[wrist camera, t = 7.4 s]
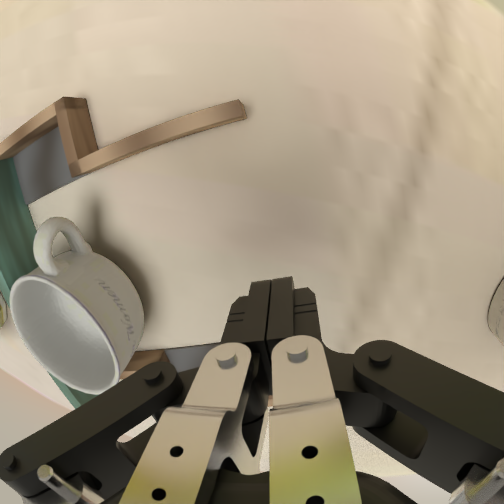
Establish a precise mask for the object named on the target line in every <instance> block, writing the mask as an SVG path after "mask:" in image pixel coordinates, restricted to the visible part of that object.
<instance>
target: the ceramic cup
mask: <svg viewBox="0 0 504 504" xmlns="http://www.w3.org/2000/svg"><path fill="white" fill-rule="evenodd" d="M6 318H7V312H6V303H5V301H4V299H3V297H2V295H1V293H0V328H1V327H2V325H3V324H4V322H5V321H6Z"/></svg>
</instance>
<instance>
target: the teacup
mask: <svg viewBox="0 0 504 504" xmlns="http://www.w3.org/2000/svg"><path fill="white" fill-rule="evenodd" d="M59 231H61V232H62V233H63V234H64V236H65V237H66V239H67V240H68V242H69V245H70V247H71V250H72V251H67V252H64V253H61V254H59V255H57V256H55V257H53V256H52V244H53V240H54V238H55V236H56V235H57V233H58V232H59ZM33 252H34V257H35V260H36V262H37V264H38V265H39V267H37V268H36V269H34V270H33V271H31V272H30V273H29V274H27V275H24V276H21V277H20V278H18V279H17V280H16V281H15V283H14V284H13V286H12V288H11V291H10V311H11V315H12V319H13V322H14V325H15V327H16V330H17V332H18V334H19V336H20V338H21V339H22V340H23V342H24V344H25V346H26V347H27V349H28V350H29V351H30V353H31V354H32V355H33V357H34V358H35V359H36V360H37V361H38V362H39V363H40V364H41V365H42V366H43V367H44V368H45V369H46V370H47V371H48V372H49V373H50V374H52V375H53V376H54V377H56V378H57V379H59V380H60V381H61V382H63V383H65V384H66V385H68V386H69V387H71V388H73V389H76V390H79V391H82V392H84V393H88V394H94V395H99V394H101V393H103V392H104V391H106V390H108V389H109V388H111V387H112V386H114V385H116V384H117V383H118V382H119V379H120V375H121V374H122V372H123V371H124V369H125V368H126V366H127V364H128V363H129V361H130V359H131V358H132V356H133V354H134V352H135V350H136V349H137V347H138V345H139V342H140V340H141V337H142V334H143V329H144V312H143V307H142V303H141V300H140V297H139V295H138V293H137V291H136V289H135V287H134V285H133V284H132V282H131V281H130V279H129V278H128V277H127V275H126V274H125V273H124V272H123V271H122V270H121V269H120V268H119V267H118V266H117V265H116V264H114V263H113V262H112V261H110V260H109V259H107V258H106V257H104V256H102V255H100V254H98V253H95V252H93V251H92V249H91V246H90V244H88V243H87V242H85V240H84V238H83V236H82V235H81V233H80V231H79V229H78V228H77V227H76V226H75V224H74V223H73V222H72V221H70V220H68V219H67V218H63V217H53V218H49V219H48V220H46V221H45V222H44V223H43V224H42V225H41V226H40V227H39V229H38V231H37V233H36V235H35V239H34V244H33Z"/></svg>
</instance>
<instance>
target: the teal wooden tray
mask: <svg viewBox="0 0 504 504" xmlns="http://www.w3.org/2000/svg"><path fill="white" fill-rule="evenodd" d="M243 119H247V117H246V113H245V109H244V106H243V104H242V103H241V102H240V101H239V99H238V100H234V101H231V102H227V103H223V104H220V105H216V106H213V107H210V108H206V109H203V110H200V111H197V112H194V113H191V114H188V115H185V116H182V117H179V118H176V119H173V120H170V121H168V122H165V123H162V124H159V125H157V126H154V127H151V128H149V129H146V130H144V131H141V132H139V133H136V134H134V135H131V136H129V137H127V138H124V139H122V140H120V141H117V142H115V143H113V144H111V145H108V146H106V147H104V148H102V149H100V150H98V148H97V144H96V140H95V136H94V132H93V128H92V124H91V120H90V115H89V111H88V107H87V102H86V99H83V98H73V97H62V98H61V99H59V100H58V101H56V102H54V103H53V104H51V105H50V106H49V107H47V108H46V109H44V110H43V111H41V112H40V113H38V114H37V115H36V116H34V117H33V118H32V119H30V120H29V121H28V122H26V123H25V124H24V125H22V126H21V127H20V128H18V129H17V130H16V131H15V132H13V133H12V134H11V135H10V136H9V137H7V138H6V139H5V140H4V141H3V142H1V143H0V290H1V292H2V294H3V296H4V298H5V300H6V302H7V304H8V306H9V308H10V291H11V288H12V286H13V284H14V283H15V281H16V280H17V279H18V278H20V277H21V276H24V275H27V274H29V273H30V272H31V271H33V270H34V269H36V268H37V267H39V265H38V264H37V262H36V260H35V257H34V252H33V244H34V239H35V235H36V233H37V232H36V229H35V227H34V224H33V221H32V218H31V215H30V212H29V209H28V206H27V205H28V204H30V203H32V202H34V201H35V200H37V199H39V198H41V197H43V196H45V195H47V194H49V193H51V192H52V191H54V190H56V189H58V188H60V187H62V186H64V185H66V184H68V183H71V182H73V181H75V180H77V179H79V178H81V177H83V176H85V175H88V174H90V173H92V172H94V171H96V170H99V169H101V168H103V167H106V166H108V165H110V164H113V163H115V162H117V161H120V160H122V159H125V158H127V157H130V156H132V155H135V154H137V153H140V152H143V151H145V150H148V149H151V148H153V147H156V146H159V145H162V144H164V143H167V142H170V141H173V140H176V139H179V138H182V137H185V136H188V135H191V134H194V133H198V132H201V131H204V130H207V129H211V128H214V127H218V126H221V125H225V124H228V123H232V122H236V121H239V120H243ZM219 345H220V343H214V344H206V345H198V346H190V347H181V348H171V349H161V350H149V351H137V352H134V354H133V356H132V358H131V359H130V361H129V363H128V364H127V366H126V368H125V369H124V371H123V372H122V374H121V375H120V379H125V378H127V377H128V376H130V375H131V374H133V373H135V372H136V371H138V370H139V369H141V368H142V367H144V366H146V365H148V364H150V363H153V362H158V361H165V362H169V363H171V364H173V365H174V366H175V368H176V370H177V372H182V371H186V370H189V369H193V368H197V367H199V366H201V363H202V361H203V359H204V357H205V355H206V354H207V353H208V352H209V351H210V350H212V349H213V348H215V347H217V346H219ZM47 372H48V371H47ZM48 373H49V372H48ZM49 375H50V376H51V377H52V379H53V380H54V382H55V383H56V384H57V386H58V387H59V388H60V390H61V391H62V392H63V394H64V395H65V396H66V398H67V399H68V400H69V401H70V403H71V404H72V405H73V406H74V408H75V409H77V408H78V407H80V406H81V405H83V404H85V403H86V402H88V401H90V400H91V399H93V398H95V397H96V396H98V395H94V394H88V393H84V392H82V391H79V390H76V389H73V388H71V387H69V386H68V385H66V384H65V383H63V382H61V381H60V380H59V379H57V378H56V377H54V376H53V375H52V374H50V373H49ZM270 406H273V395H269V397H268V406H267V407H270Z"/></svg>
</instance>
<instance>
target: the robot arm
mask: <svg viewBox="0 0 504 504" xmlns="http://www.w3.org/2000/svg"><path fill="white" fill-rule="evenodd" d="M488 325H489V328H490V330H491V331H492V332H493V333H494V335H495V336H496V337H497V338H498V340H499V341H500V342H501V343H502V344H503V346H504V279H503V281H502V282H501V284H500V285H499V287H498V289H497V291H496V293H495V295H494V297H493V300H492V302H491V305H490V309H489V314H488ZM269 395H273V409H270V411H269V412H268V408H267V406H268V397H269ZM151 415H152V416H153V418H154V419H155V420H156V422H157V423H155V424H154V425H152V426H151V427H149V428H148V429H146V430H145V431H143V432H142V433H140V434H139V435H137V436H136V437H134V438H133V439H131V440H130V441H128V442H125V443H120V442H118V441H117V439H118V438H119V437H120V436H121V435H123V434H124V433H126V432H127V431H129V430H130V429H132V428H133V427H135V426H136V425H138V424H139V423H141V422H142V421H144V420H145V419H147V418H148V417H150V416H151ZM268 417H269V462H270V471H267V472H263V473H260V458H261V453H262V448H263V443H264V438H265V433H266V428H267V422H268ZM346 425H347V426H352V427H353V429H354V430H355V432H357V433H358V434H359V435H360V436H362V437H363V438H365V439H366V440H368V441H369V442H370V443H372V444H373V445H375V446H376V447H378V448H379V449H381V450H382V451H383V452H385V453H386V454H388V455H389V456H391V457H392V458H394V459H395V460H397V461H398V462H400V463H402V464H403V465H405V466H406V467H408V468H409V469H411V470H412V471H414V472H416V473H417V474H419V475H420V476H422V477H424V478H426V479H427V480H429V481H430V482H432V483H434V484H435V485H437V486H439V487H440V488H442V489H444V490H446V491H447V492H449V493H451V497H450V500H449V504H504V392H502V391H499V390H497V389H495V388H492V387H490V386H488V385H486V384H484V383H481V382H479V381H477V380H475V379H472V378H470V377H468V376H466V375H464V374H461V373H459V372H457V371H455V370H453V369H450V368H448V367H446V366H444V365H442V364H440V363H437V362H435V361H433V360H431V359H429V358H427V357H424V356H422V355H420V354H418V353H416V352H414V351H412V350H409V349H407V348H405V347H403V346H401V345H399V344H397V343H394V342H392V341H387V340H376V341H371V342H368V343H366V344H364V345H362V346H361V347H359V348H358V349H357V351H356V352H355V354H344V353H338V352H335V351H332V350H330V349H329V348H327V347H326V346H325V345H324V343H323V342H322V339H321V332H320V325H319V318H318V311H317V305H316V298H315V294H314V293H313V292H312V291H311V290H310V289H309V288H308V287H307V288H300V289H294V283H293V278H292V276H291V277H284V278H277V279H272V280H264V281H257V282H252V283H251V286H250V291H249V296H243V297H239V298H238V299H237V300H236V301H235V302H234V303H233V304H232V306H231V309H230V312H229V316H228V319H227V323H226V326H225V329H224V332H223V336H222V339H221V343H220V345H219V346H217V347H215V348H213V349H212V350H210V351H209V352H208V353H207V354H206V355H205V357H204V359H203V361H202V363H201V366H199V367H197V368H193V369H189V370H186V371H182V372H177V370H176V368H175V366H174V365H173V364H171V363H169V362H165V361H158V362H153V363H150V364H148V365H146V366H144V367H142V368H141V369H139V370H138V371H136V372H135V373H133V374H131V375H130V376H128V377H127V378H125V379H123V380H122V381H120V382H119V383H117V384H116V385H114V386H112V387H111V388H109V389H108V390H106V391H104V392H103V393H101V394H99V395H98V396H96V397H95V398H93V399H91V400H90V401H88V402H86V403H85V404H83V405H81V406H80V407H78V408H77V409H75V410H73V411H72V412H70V413H68V414H66V415H65V416H63V417H61V418H60V419H58V420H56V421H55V422H53V423H51V424H50V425H48V426H46V427H44V428H43V429H41V430H39V431H37V432H36V433H34V434H32V435H31V436H29V437H27V438H25V439H24V440H22V441H20V442H18V443H16V444H15V445H13V446H11V447H9V448H7V449H6V450H5V451H3V453H2V454H1V455H0V479H2V480H3V481H4V482H5V483H6V484H8V485H9V486H10V487H12V488H13V489H14V490H15V491H17V492H18V494H19V495H20V496H21V497H22V499H23V503H24V504H417V503H416V502H415V501H413V500H411V499H410V498H409V497H408V496H406V495H404V494H403V493H402V492H401V491H399V490H398V489H397V488H395V487H394V486H392V485H391V484H389V483H388V482H386V481H384V480H382V479H380V478H378V477H375V476H373V475H370V474H366V473H363V472H358V471H355V466H354V461H353V457H352V452H351V447H350V443H349V438H348V434H347V430H346Z"/></svg>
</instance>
